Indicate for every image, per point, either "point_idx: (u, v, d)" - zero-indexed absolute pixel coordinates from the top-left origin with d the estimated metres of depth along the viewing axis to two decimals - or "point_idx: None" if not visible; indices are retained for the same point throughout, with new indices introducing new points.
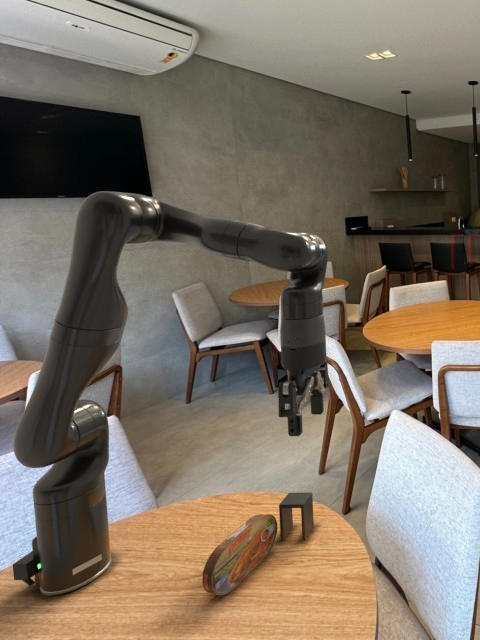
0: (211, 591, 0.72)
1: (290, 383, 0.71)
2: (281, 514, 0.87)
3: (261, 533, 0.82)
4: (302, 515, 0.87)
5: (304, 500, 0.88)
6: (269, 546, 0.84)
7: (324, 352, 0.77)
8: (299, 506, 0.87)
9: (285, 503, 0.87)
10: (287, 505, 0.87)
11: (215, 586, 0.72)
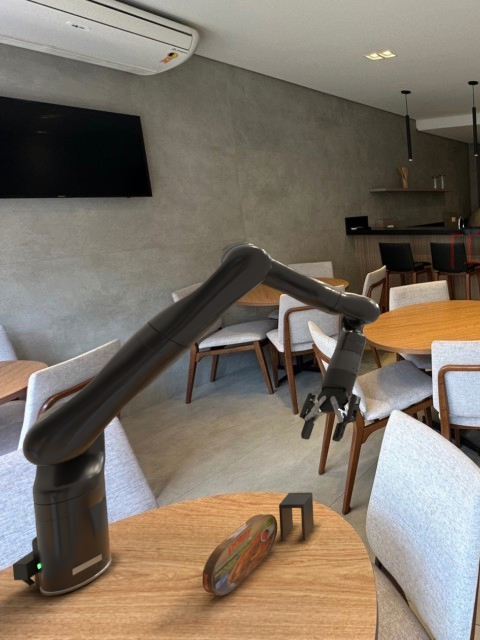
0: (211, 591, 0.72)
1: None
2: (281, 514, 0.87)
3: (261, 533, 0.82)
4: (302, 515, 0.87)
5: (304, 500, 0.88)
6: (269, 546, 0.84)
7: None
8: (299, 506, 0.87)
9: (285, 503, 0.87)
10: (287, 505, 0.87)
11: (215, 586, 0.72)
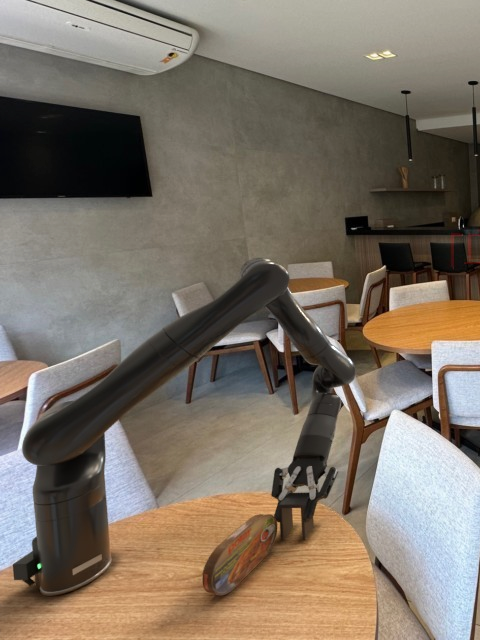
0: (211, 591, 0.72)
1: (336, 469, 0.94)
2: (281, 514, 0.87)
3: (261, 533, 0.82)
4: (302, 515, 0.87)
5: (304, 500, 0.88)
6: (269, 546, 0.84)
7: None
8: (299, 506, 0.87)
9: (285, 503, 0.87)
10: (287, 505, 0.87)
11: (215, 586, 0.72)
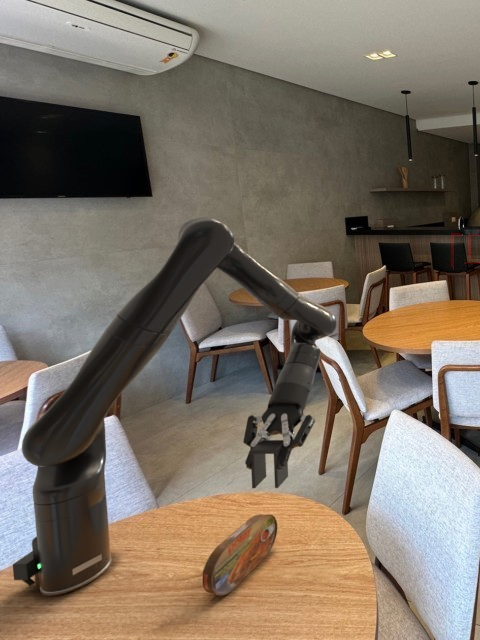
0: (211, 591, 0.72)
1: (313, 418, 0.90)
2: (253, 460, 0.83)
3: (261, 533, 0.82)
4: (275, 461, 0.83)
5: (277, 446, 0.84)
6: (269, 546, 0.84)
7: None
8: (272, 452, 0.83)
9: (257, 449, 0.83)
10: (259, 451, 0.83)
11: (215, 586, 0.72)
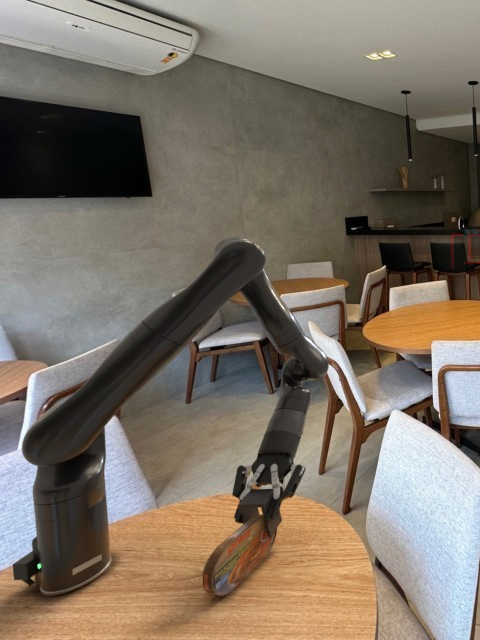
0: (211, 591, 0.72)
1: None
2: (242, 513, 0.82)
3: (261, 533, 0.82)
4: (263, 514, 0.82)
5: (264, 499, 0.82)
6: (269, 546, 0.84)
7: None
8: (259, 506, 0.81)
9: (244, 503, 0.82)
10: (247, 505, 0.81)
11: (215, 587, 0.72)
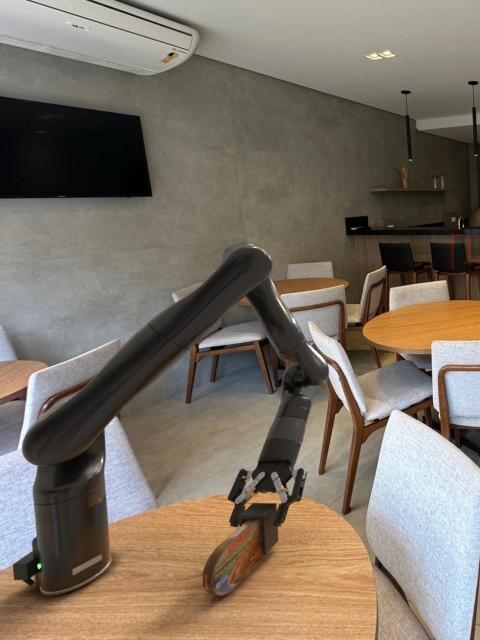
0: (211, 591, 0.72)
1: None
2: None
3: (261, 533, 0.82)
4: (262, 527, 0.81)
5: (266, 511, 0.83)
6: None
7: None
8: (259, 517, 0.81)
9: (245, 514, 0.82)
10: (248, 516, 0.82)
11: (215, 587, 0.72)
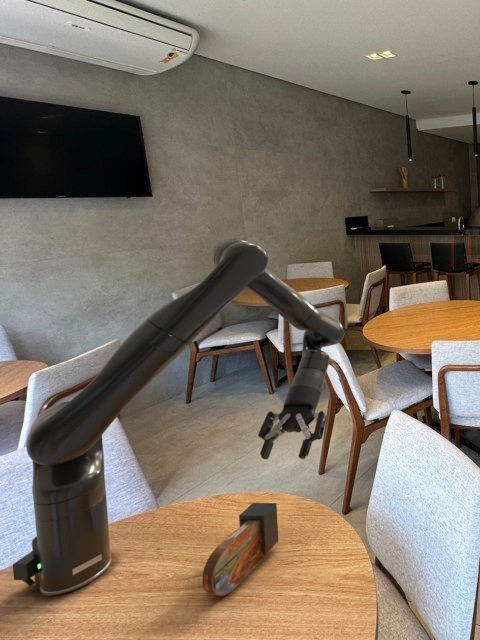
0: (211, 591, 0.72)
1: (325, 414, 1.02)
2: None
3: (261, 533, 0.82)
4: (262, 527, 0.81)
5: (266, 511, 0.83)
6: None
7: None
8: (259, 517, 0.81)
9: (245, 514, 0.82)
10: (248, 516, 0.82)
11: (215, 587, 0.72)
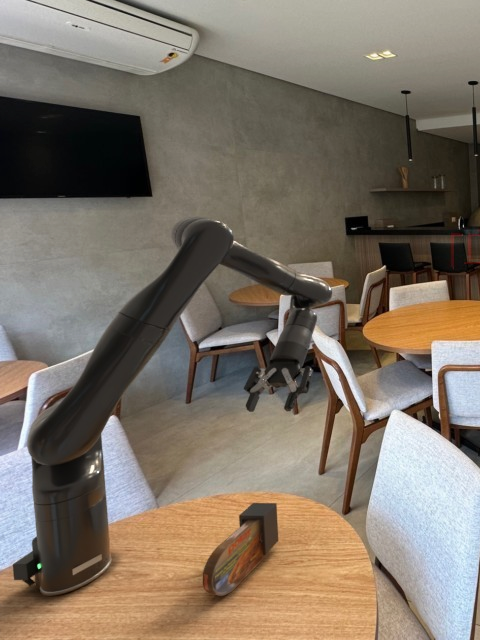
0: (211, 591, 0.72)
1: (311, 369, 1.02)
2: None
3: (261, 533, 0.82)
4: (262, 527, 0.81)
5: (266, 511, 0.83)
6: None
7: None
8: (259, 517, 0.81)
9: (245, 514, 0.82)
10: (248, 516, 0.82)
11: (215, 587, 0.72)
